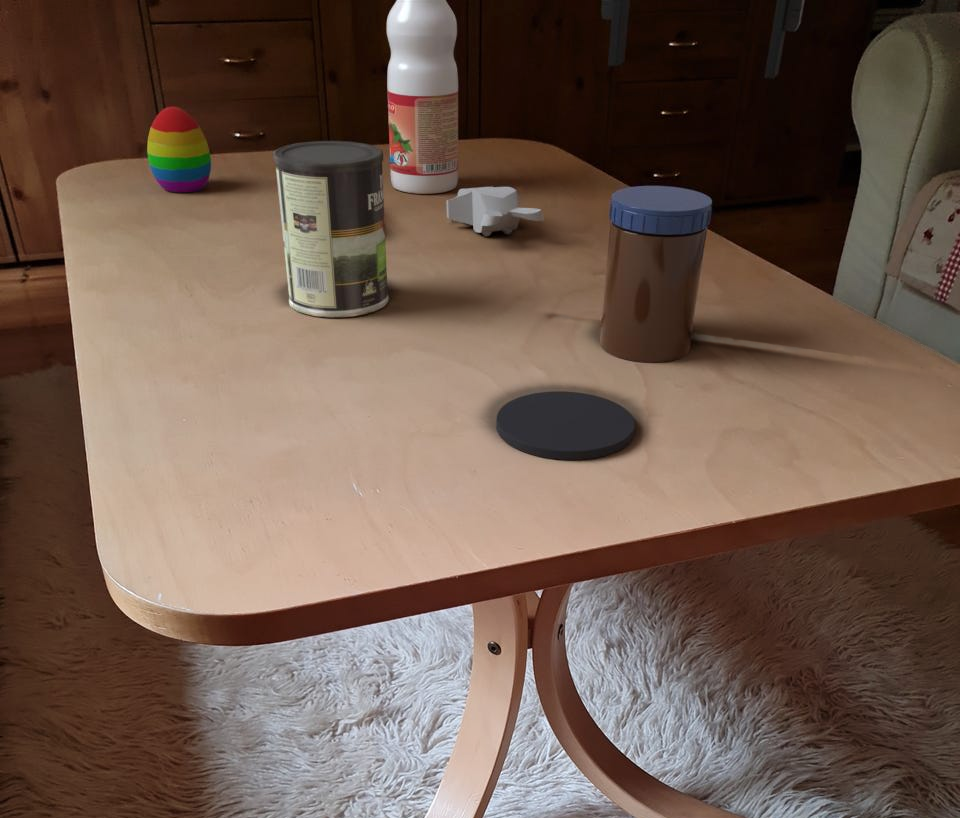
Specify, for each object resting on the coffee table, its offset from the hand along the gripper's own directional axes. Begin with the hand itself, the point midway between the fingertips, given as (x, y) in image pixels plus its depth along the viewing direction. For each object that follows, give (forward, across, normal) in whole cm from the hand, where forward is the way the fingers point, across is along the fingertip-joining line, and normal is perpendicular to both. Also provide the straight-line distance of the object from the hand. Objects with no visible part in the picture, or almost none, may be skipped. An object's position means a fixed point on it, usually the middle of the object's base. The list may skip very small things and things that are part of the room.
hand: (691, 70), depth 87 cm
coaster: (+22, +1, +28) cm, 35 cm away
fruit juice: (+22, +43, -38) cm, 62 cm away
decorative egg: (+22, +72, -24) cm, 79 cm away
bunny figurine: (+22, +26, -22) cm, 41 cm away
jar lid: (+9, 0, +8) cm, 12 cm away
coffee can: (+22, +32, +8) cm, 39 cm away
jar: (+22, 0, +8) cm, 23 cm away
